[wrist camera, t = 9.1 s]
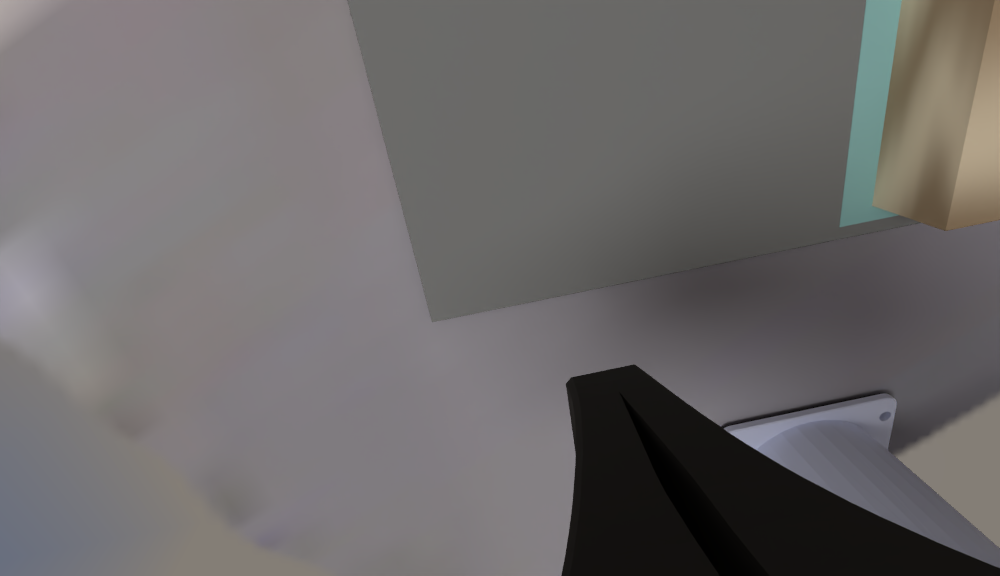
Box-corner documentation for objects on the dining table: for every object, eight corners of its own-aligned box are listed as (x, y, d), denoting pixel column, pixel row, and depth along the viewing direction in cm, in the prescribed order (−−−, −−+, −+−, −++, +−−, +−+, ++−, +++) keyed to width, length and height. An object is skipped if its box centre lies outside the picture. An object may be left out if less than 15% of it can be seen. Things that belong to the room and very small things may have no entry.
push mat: (1193, 163, 20) (1204, 165, 19) (432, 318, 19) (432, 322, 19) (1403, -350, 14) (1423, -359, 13) (308, -153, 13) (306, -157, 13)
